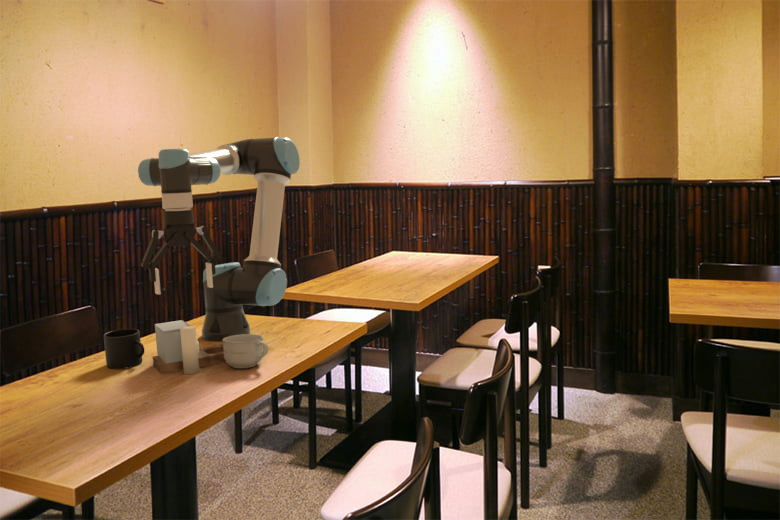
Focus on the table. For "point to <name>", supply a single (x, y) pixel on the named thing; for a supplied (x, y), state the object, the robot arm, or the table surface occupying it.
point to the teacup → (244, 350)
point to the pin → (189, 350)
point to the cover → (169, 340)
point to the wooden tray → (204, 356)
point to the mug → (123, 348)
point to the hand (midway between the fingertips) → (184, 290)
